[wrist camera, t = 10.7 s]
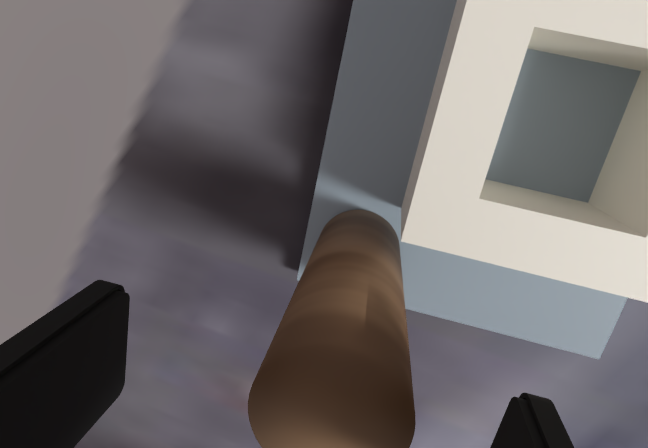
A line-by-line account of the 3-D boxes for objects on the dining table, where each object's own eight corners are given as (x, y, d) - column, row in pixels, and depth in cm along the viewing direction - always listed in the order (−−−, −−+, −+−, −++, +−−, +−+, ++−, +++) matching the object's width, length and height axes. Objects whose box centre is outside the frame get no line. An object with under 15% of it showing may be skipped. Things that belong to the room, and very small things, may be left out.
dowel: (392, 292, 23) (400, 499, 11) (314, 279, 23) (243, 467, 11) (406, 215, 21) (429, 360, 10) (322, 204, 22) (253, 329, 10)
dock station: (590, 348, 23) (653, 434, 17) (300, 272, 24) (269, 328, 18) (882, -296, 15) (1177, -535, 9) (427, -349, 16) (441, -582, 11)
